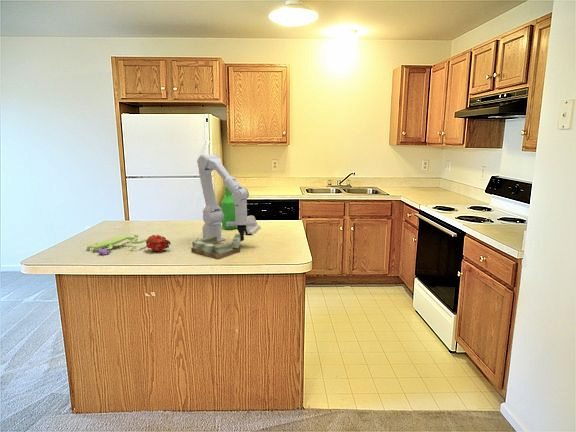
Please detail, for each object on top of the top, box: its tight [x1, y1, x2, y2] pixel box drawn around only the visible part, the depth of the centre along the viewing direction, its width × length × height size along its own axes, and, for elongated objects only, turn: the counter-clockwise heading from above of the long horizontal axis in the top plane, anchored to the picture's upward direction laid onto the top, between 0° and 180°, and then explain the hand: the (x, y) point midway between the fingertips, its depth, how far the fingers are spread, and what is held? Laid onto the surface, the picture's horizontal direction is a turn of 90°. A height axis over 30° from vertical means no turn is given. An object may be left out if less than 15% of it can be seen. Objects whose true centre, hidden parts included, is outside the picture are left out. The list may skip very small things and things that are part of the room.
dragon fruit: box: [145, 234, 172, 252], centre depth 184 cm, size 8×8×12 cm
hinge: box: [244, 214, 262, 236], centre depth 219 cm, size 17×5×10 cm, turn 168°
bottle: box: [220, 185, 237, 231], centre depth 224 cm, size 9×9×25 cm
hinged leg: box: [231, 233, 242, 248], centre depth 187 cm, size 14×3×4 cm, turn 0°
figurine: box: [86, 234, 148, 256], centre depth 188 cm, size 18×27×6 cm
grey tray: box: [191, 236, 241, 260], centre depth 182 cm, size 18×14×5 cm
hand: (242, 240), depth 191 cm, fingers closed, pressing on hinged leg
